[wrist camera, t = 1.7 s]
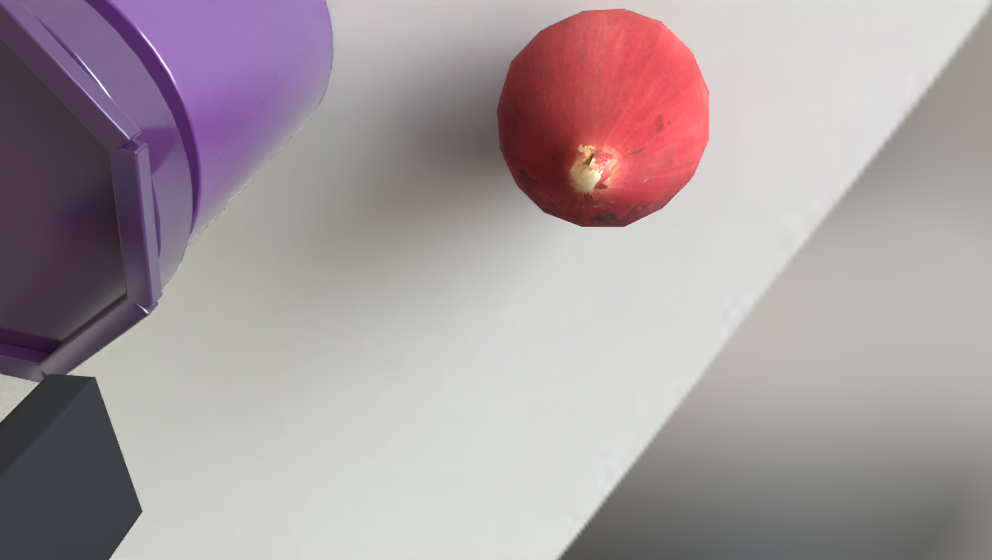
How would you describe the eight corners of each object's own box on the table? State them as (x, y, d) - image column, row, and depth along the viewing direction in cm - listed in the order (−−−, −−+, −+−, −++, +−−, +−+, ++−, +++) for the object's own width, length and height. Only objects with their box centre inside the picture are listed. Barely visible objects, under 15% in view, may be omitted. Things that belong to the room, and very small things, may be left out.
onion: (704, 162, 29) (711, 293, 22) (526, 165, 30) (482, 291, 23) (708, -25, 26) (717, 60, 19) (511, -13, 27) (455, 71, 20)
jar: (212, 208, 33) (-11, 433, 22) (8, -9, 30) (-361, 132, 19) (402, 62, 29) (239, 253, 18) (188, -207, 26) (-157, -167, 15)
